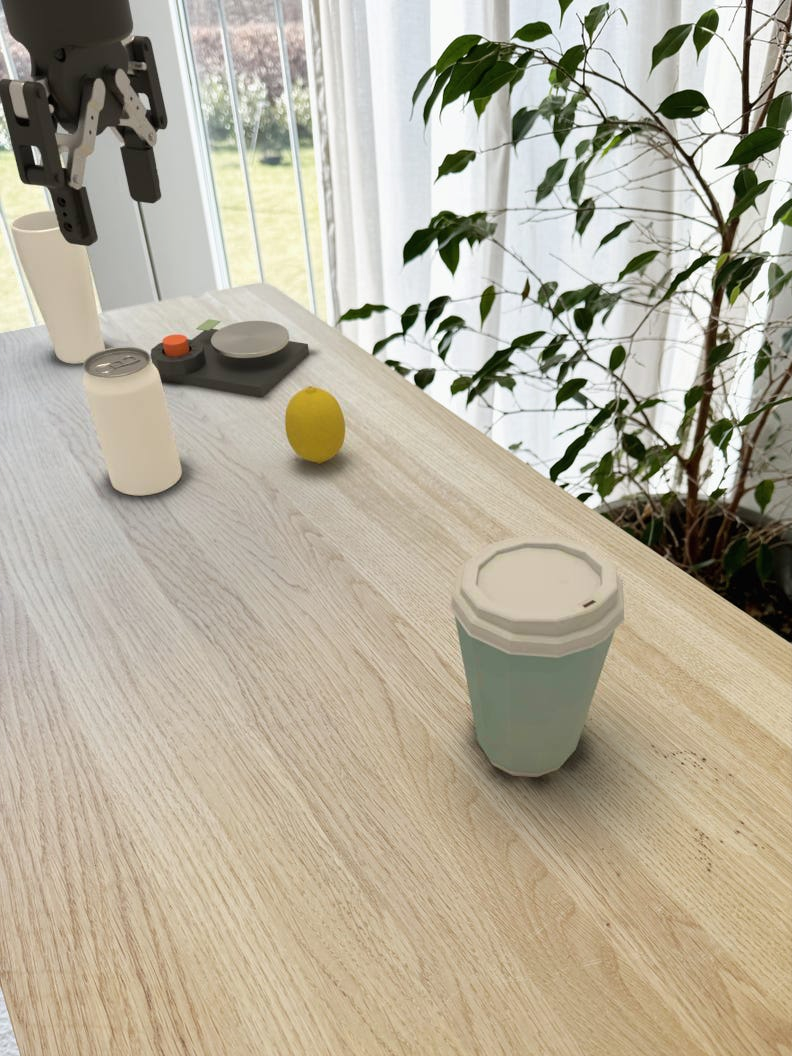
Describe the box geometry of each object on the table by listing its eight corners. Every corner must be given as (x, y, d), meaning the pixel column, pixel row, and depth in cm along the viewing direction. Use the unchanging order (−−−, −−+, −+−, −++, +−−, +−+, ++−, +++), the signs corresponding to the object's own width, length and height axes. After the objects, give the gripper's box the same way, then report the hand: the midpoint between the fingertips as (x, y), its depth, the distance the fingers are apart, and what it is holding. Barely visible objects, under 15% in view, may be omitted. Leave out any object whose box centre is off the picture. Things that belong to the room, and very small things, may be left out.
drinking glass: (38, 365, 112) (-5, 228, 102) (71, 339, 117) (32, 206, 107) (93, 371, 111) (54, 234, 101) (123, 345, 116) (89, 211, 106)
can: (99, 479, 94) (64, 361, 87) (159, 454, 98) (131, 337, 90) (135, 507, 91) (101, 386, 83) (196, 480, 94) (169, 360, 86)
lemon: (283, 457, 97) (271, 381, 92) (336, 443, 99) (328, 368, 94) (302, 484, 94) (291, 407, 88) (357, 469, 96) (350, 393, 90)
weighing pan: (172, 347, 109) (170, 343, 108) (212, 316, 115) (211, 312, 114) (266, 363, 106) (265, 358, 106) (302, 330, 112) (302, 326, 111)
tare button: (160, 356, 108) (157, 342, 107) (173, 346, 110) (170, 332, 109) (181, 359, 107) (178, 346, 106) (194, 349, 109) (191, 336, 108)
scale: (146, 382, 109) (140, 356, 107) (203, 338, 117) (199, 313, 115) (258, 402, 106) (254, 376, 104) (309, 355, 114) (306, 330, 112)
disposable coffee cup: (421, 736, 70) (411, 563, 60) (536, 667, 75) (544, 498, 65) (524, 830, 64) (531, 654, 54) (641, 748, 69) (667, 574, 59)
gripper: (67, -73, 66) (122, 183, 77) (-79, -37, 56) (8, 251, 67) (169, -66, 65) (210, 194, 76) (38, -28, 55) (107, 266, 66)
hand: (115, 221), depth 72 cm, fingers open, 8 cm apart
